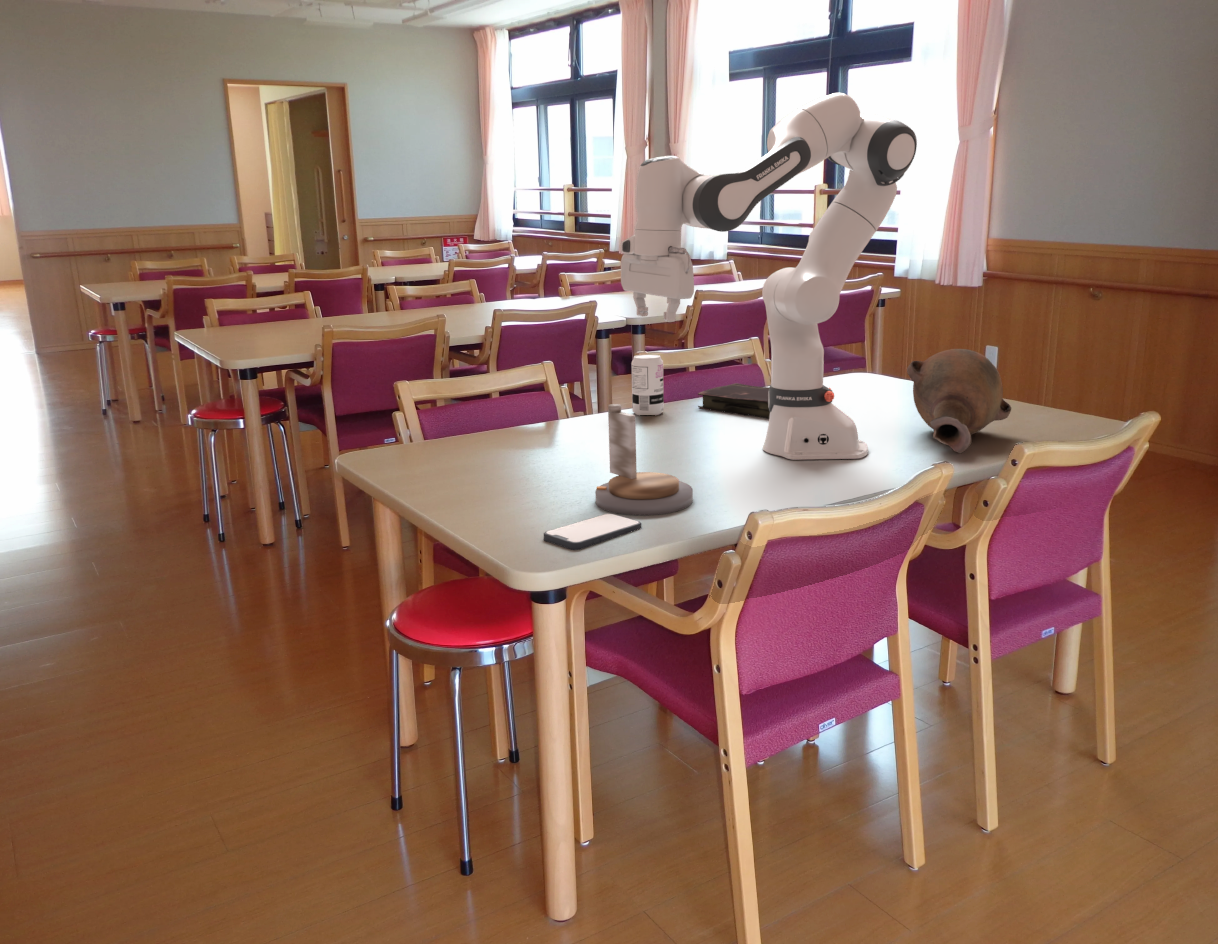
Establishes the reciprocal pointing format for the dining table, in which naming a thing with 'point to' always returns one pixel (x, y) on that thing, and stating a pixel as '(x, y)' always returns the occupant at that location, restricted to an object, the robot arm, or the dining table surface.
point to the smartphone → (591, 531)
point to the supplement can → (647, 385)
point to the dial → (632, 462)
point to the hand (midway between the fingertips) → (655, 318)
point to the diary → (737, 400)
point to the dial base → (644, 502)
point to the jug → (957, 395)
